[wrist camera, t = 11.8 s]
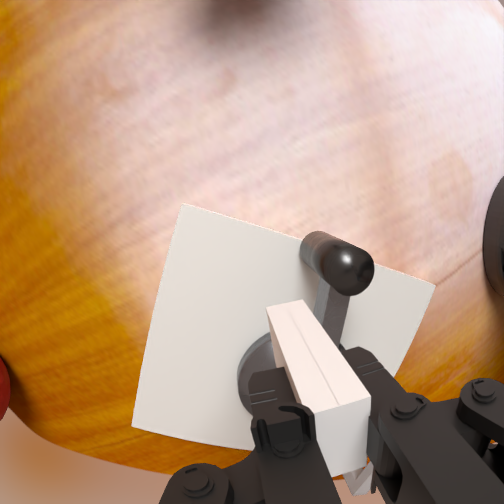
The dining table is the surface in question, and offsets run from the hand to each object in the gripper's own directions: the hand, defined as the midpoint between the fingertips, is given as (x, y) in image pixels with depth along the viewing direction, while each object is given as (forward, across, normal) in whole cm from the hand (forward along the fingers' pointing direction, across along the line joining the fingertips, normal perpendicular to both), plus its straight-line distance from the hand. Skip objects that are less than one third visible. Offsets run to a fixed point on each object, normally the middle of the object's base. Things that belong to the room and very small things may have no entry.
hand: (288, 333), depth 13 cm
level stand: (+12, +1, -8) cm, 14 cm away
